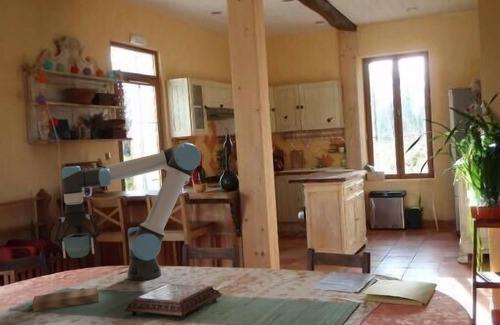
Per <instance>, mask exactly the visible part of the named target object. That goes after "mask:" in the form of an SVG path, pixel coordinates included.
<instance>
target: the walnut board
mask: <svg viewBox="0 0 500 325" xmlns="http://www.w3.org/2000/svg"><path fill="white" fill-rule="evenodd" d="M97 302H100V296H99V290H98V288H97V287H89V288H81V289H75V290H68V291H61V292H55V293H47V294H41V295H34V296H33V301H32V311H33V312H39V311H40V312H41V311H44V310H51V309H59V308H66V307H72V306H77V305H78V306H79V305H83V304H84V305H85V304H86V305H87V304H93V303H97Z"/></svg>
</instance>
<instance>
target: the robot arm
mask: <svg viewBox="0 0 500 325" xmlns="http://www.w3.org/2000/svg"><path fill="white" fill-rule="evenodd" d="M201 154H202V153H201V151H200V149H199V148H198V146H196V145H195V144H193V143H189V142H183V143H182V142H181V143H178V144H176V145H173V146H171V147H169V148H165V149H161V150H160V152H158V153H155V154H150V155H146V156H142V157H136V158H133V159H129V160H124V161H120V162H117V163H111V164H108V165H104V166H99V167H94V168H93V167H92V168H90V169H84V170H83V169H81V166H79V165H74V166H65V167H63V168H62V169H61V178H62V179H61V180H62V188H63V190H62V191H63V202H64V203H65V205H64V210H65V215H64V216H63V217H61V216H59V217H58V218H57V219H58V220H57V221H58V225H57V227H56V232H55V236H54V240H53V241H54V242H58V243H59V250H60V251H62V253H63V259H66V258H67V257H66V249H65V246H64V241H63V238H64V237H66V235H67V233H68V231H69V230H70V228H71V226H72V227H73V226H74V227H75V226H81V225H82V226H83V227H84V228H85V230H86V231H87V233H88V234H90V235H91V254H92V255H94V254H95V246H97V237H100V235H101V234H100V232H99V230H98V227H97V226H96V223H95V221H94V218H93V213H90V214H86V213H85V205H84V203H83V202H84V192H83V189H86V188H96V187H106V186H110V185H111V184H112V182H115V181H120V180H124V179H128V178H131V177H136V176H139V175H145V174H148V173H152V172H157V171H160V170H165V171H167V173H166V175H165V178H164V180H163V182H162V185H161V186H160V189H159V191H158V193H157V195H156V198H155V200H154V201H153V204H152V206H151V208H150V211H149V213H148V216H147V217H146V220H145V221H144V222H141V223H140V224H139V226H137V227H129V228H128V230H127V237H128V240H127V241H128V249H129V251H128V252H129V265H128V268H127V275H126V276H127V279H128V280H129V281H145V280H146V281H147V280H151V279H155V278H158V277H161V276H162V270H161V267H160V265H159V262H158V260H157V256H158V255H159V254H160V252H161V248H162V243H163V240H164V237H165V235H166V234H165V231H164V229H165V226H166V224H167V223H168V220H169V218H170V215H171V214H172V212H173V210H174V207H175V205H176V203H177V201H178V198H179V196H180V194H181V191H182V190H183V188H184V185H185V183H186V181H187V180H188V179H190V178H192V176H193V175H194V172H195V169H196V168H197V167H198V166H199V165H200V163H201V161H202V155H201ZM86 218H87V220H89V221H90V224H91V225H92V228H93V230H94V232H95V233H94V232H93V231H92V230H91V228H90V227H88V225H87V224H86V222H85V220H86ZM64 221H66V222H67V224H66V227H65V229H64V230H63V231H62V234H61V236H60V232H61V228H62V225H63V224H62V223H64ZM59 236H60V237H59Z"/></svg>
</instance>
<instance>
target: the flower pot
mask: <svg viewBox="0 0 500 325" xmlns="http://www.w3.org/2000/svg"><path fill="white" fill-rule="evenodd" d="M91 238H92V236H91V235H90V233H73V234H70V235H67V236H65V237H64V238H63V241H64V246H65V253H67V255H68V256H69V257H70V259H71V258H72V259H73V258H76V259H77V258H84V257H85V256H88V254H89V252H90V250H91V248H92V245H91ZM63 241H62V242H63Z"/></svg>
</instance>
